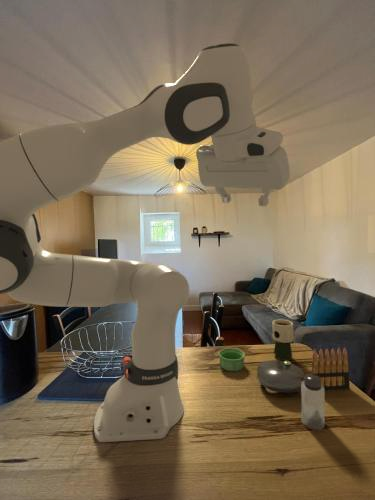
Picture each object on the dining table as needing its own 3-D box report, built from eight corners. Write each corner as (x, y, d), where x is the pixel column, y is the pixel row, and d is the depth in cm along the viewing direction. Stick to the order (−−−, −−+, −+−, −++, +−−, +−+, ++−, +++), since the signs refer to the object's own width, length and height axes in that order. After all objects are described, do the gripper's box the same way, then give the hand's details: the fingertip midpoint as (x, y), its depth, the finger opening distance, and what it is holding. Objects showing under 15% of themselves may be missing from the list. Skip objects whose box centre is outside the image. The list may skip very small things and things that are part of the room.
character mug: (268, 350, 99) (267, 317, 98) (286, 350, 99) (286, 317, 98) (279, 365, 88) (278, 328, 87) (299, 364, 88) (299, 327, 87)
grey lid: (272, 403, 69) (272, 385, 68) (249, 377, 81) (249, 361, 81) (314, 395, 72) (314, 377, 71) (286, 371, 84) (286, 356, 84)
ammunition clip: (345, 385, 76) (346, 346, 75) (349, 389, 74) (350, 348, 73) (310, 387, 75) (310, 347, 75) (313, 391, 73) (313, 350, 73)
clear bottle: (310, 431, 59) (310, 385, 58) (296, 416, 63) (296, 374, 63) (329, 427, 60) (329, 382, 59) (314, 413, 65) (314, 370, 64)
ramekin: (244, 374, 83) (244, 361, 83) (216, 371, 86) (216, 358, 86) (245, 361, 92) (245, 349, 92) (220, 358, 94) (220, 346, 94)
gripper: (186, 151, 56) (201, 206, 64) (278, 145, 44) (282, 214, 52) (202, 140, 60) (214, 194, 68) (291, 132, 47) (293, 199, 55)
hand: (244, 203), depth 60 cm, fingers open, 8 cm apart
